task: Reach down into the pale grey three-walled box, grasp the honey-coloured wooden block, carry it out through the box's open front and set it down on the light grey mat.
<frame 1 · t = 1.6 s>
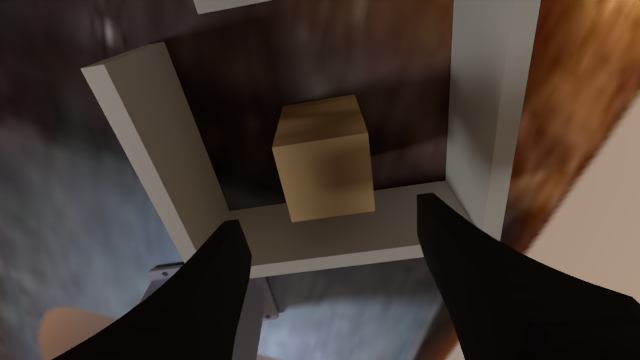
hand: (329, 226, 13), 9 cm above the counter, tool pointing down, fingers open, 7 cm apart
wooden block: (324, 133, 21), on the counter
open box: (323, 126, 21), on the counter
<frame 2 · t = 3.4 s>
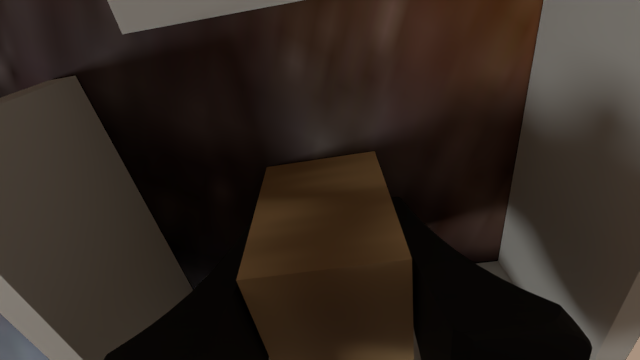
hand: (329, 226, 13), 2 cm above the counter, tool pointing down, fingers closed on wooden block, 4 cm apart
wooden block: (328, 203, 14), on the counter, touching gripper
open box: (326, 194, 14), on the counter
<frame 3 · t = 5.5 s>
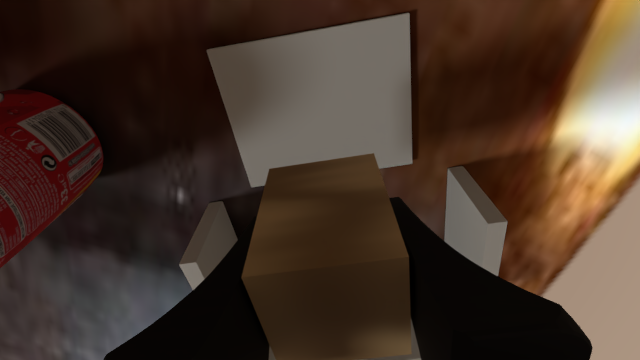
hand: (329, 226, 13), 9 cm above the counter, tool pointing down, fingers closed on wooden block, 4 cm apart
wooden block: (328, 203, 15), point 7 cm above the counter, touching gripper
soda can: (56, 136, 21), on the counter
open box: (343, 252, 26), on the counter
grey mat: (319, 110, 20), on the counter
when the fingers open (3 cm above the counter, at t = 7.5 s): wooden block drops 1 cm, resting on grey mat.
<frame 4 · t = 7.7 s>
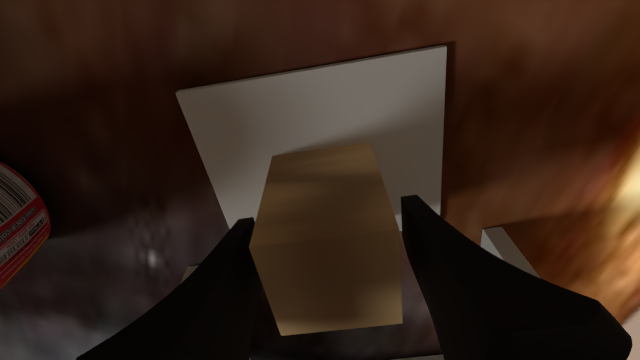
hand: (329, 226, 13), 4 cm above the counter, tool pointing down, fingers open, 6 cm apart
wooden block: (327, 189, 16), resting on grey mat
open box: (351, 318, 22), on the counter
grey mat: (323, 163, 15), on the counter
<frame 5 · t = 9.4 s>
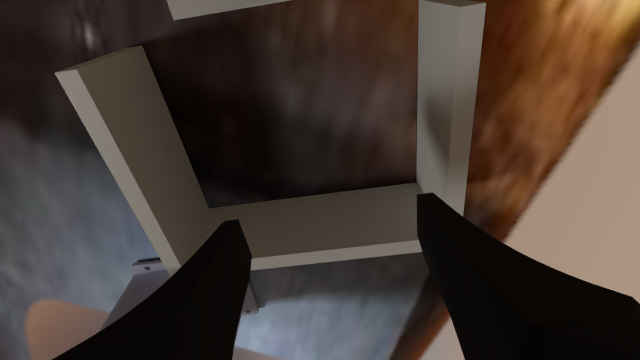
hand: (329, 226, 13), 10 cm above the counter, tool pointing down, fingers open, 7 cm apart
open box: (297, 129, 22), on the counter
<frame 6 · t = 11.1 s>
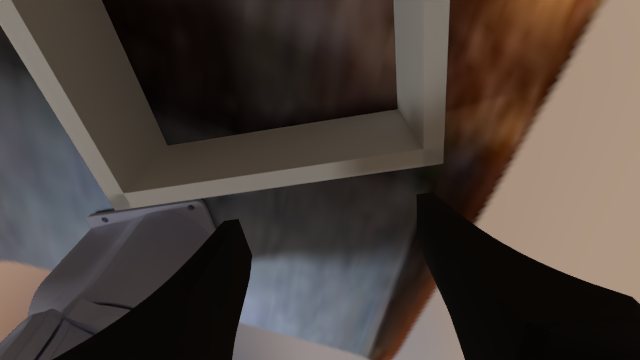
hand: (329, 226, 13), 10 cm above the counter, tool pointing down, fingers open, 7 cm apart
open box: (258, 41, 19), on the counter
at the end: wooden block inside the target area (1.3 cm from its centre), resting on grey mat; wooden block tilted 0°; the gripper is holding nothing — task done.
